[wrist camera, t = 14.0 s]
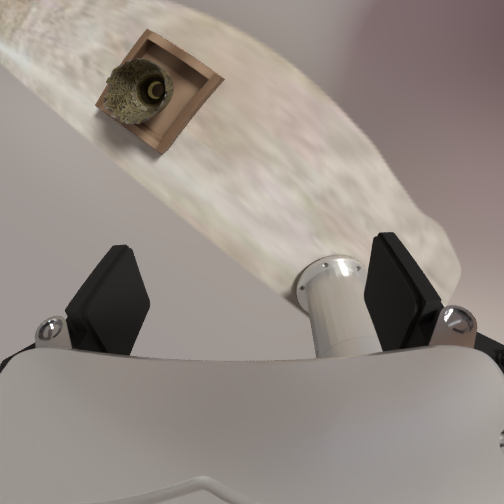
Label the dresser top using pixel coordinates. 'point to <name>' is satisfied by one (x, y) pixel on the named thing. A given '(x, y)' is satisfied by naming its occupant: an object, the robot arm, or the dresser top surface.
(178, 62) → the box
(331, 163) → the dresser top surface
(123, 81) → the olive round vessel
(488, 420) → the robot arm
